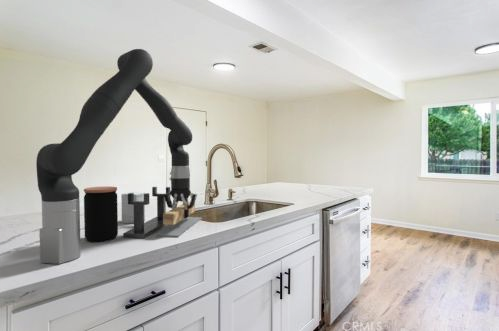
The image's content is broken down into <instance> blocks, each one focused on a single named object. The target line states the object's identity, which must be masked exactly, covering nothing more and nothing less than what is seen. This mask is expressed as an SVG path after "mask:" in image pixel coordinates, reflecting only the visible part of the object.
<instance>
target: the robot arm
mask: <svg viewBox="0 0 499 331" xmlns="http://www.w3.org/2000/svg"><path fill="white" fill-rule="evenodd" d="M116 64H117V69H118V71H117V72H116V73H115V74H114V75H112V77H110V78H109V79H107V81H105V82H103V83H102V85H100V86H99V87H98V88H96V89H95V91H93V92H92V94H91V95H90V96H89V97H88V99H87V100H86V101H85V102H84V104H83V106H82V108H81V111H80V114H79V118H78V122H77V124H76V126H75V127H74V129H73V130H72V131H71V132H70V133H69V135H68V136H67V137H65V139H64V140H62V142H60V143H59V142H58V143H57V142H56V143H49V144H46V145H44V146H42V147H41V148H40V149H39V151H38V153H37V156H36V162H35V163H36V178H37V179H36V180H37V187H38V188H37V189H38V191H39V192H40V195H41V196H40V197H41V226H42V227H41V228H40V229H39V257H40V258H39V259H40V264H55V265H56V264H58V265H61V264H62V263H66V262H70V261H73V260H77V259H78V258H80V257H81V253H82V252H81V250H82V249H81V221H80V220H81V215H80V214H81V212H80V206H81V205H80V190H79V188H78V187H77V186H76V185H75V184H74V182H73V177H72V176H73V175H75V174H76V173H78V172H79V171H81V170H82V168H83V166H84V165H85V163H86V162H87V160H88V158H89V156H90V155H91V153H92V151H93V149H94V147H95V146H96V144H97V143H98V142H99V139H100V138H101V137H102V136H103V135H104V133H105V131H106V130H107V129H108V127H110V125H111V123H112V122H113V121H114V119H115V118H116V117H117V116H118V114H119V113H120V111H121V110H122V108H123V107H124V105H126V103H127V101H128V100H129V98H130V97H131V95H133V92H134V91H136V92H137V94H139V95H140V97H141V98H142V99H143V100H144V101H145V103H146V104H147V105H148V106H149V108H150V109H151V111H152V112H153V114H154V115H155V117H156V118H157V119H158V121H159V123H160V125H161V126H163V127H164V128H166V129H168V130H169V132H168V135H167V144H168V147H169V151H170V155H171V169H170V193H166V192H165V193H163V194H164V197H165V200H166V207H167V208H169V209H171V210H172V209H174V208H176V207H178V204H179V202H181V203H182V204H183V205H184V208H185V210H184V219H187V218H188V217H190V215H189V209H190V208H192V207H193V206H194V203H195V204H196V200H197V197H198V194H197V193H193V192H191V188H190V187H191V181H190V178H191V174H190V173H191V170H190V155H189V153H188V152H187V151H185V150H184V146H188V145H189V144H191V143H192V141H193V133H192V130H191V129H190V128H189V126H187V124H186V123H185V122H184V121H183V120H182V119H181V118H180V117H179V116H178V115H177V112H176V111H175V110H174V108H173V106H172V105H171V103H170V102H169V101H168V100H167V99H166V97H164V96H163V95H162V94H160V92H158V90H156V89H154V87H153V86H151V84H150V83H149V82H148V80H147V79H146V77H147V76H149V74H151V72H152V69H153V66H154V63H153V58H152V56H151V54H150V53H149V52H148V51H147V50H146V49H142V48H135V49H131V50H129V51H127V52H124V53H123V54H120V55H119V57H118V59H117V63H116ZM189 197H190V201H189ZM172 199H173V201H172ZM189 202H190V205H189V204H188V203H189Z"/></svg>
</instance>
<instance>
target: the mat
mask: <svg viewBox="0 0 499 331" xmlns="http://www.w3.org/2000/svg"><path fill="white" fill-rule="evenodd" d="M201 220H202V217H199V216H198V217H197V216H195V217H194V216H189V217H188V218H187V219H182V220H181V221H179V222H178V223H176V224H174V225H167V226H165V227H164V228H163V229H161V230H159V231H158V232H157V233H156V232H155V234H154V237H165V238H179V237H181V236H182V235H183V234H184V233H186V232H187V231H188V230H189V229H191V228H192V227H193V226H194V225H196V224H197V223H198V222H200V221H201ZM190 227H191V228H190ZM186 230H187V231H186Z"/></svg>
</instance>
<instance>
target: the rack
mask: <svg viewBox="0 0 499 331" xmlns="http://www.w3.org/2000/svg"><path fill="white" fill-rule="evenodd" d="M151 189H152V190H151V191H152V192H151V193H152V194H151V195H152V196H151V197H156V201H157V202H156V206H157V207H156V210H157V214H156V215H157V216H155V217H153V218H151V219H149V220H147V221H145V220H144V205H145V206H148V205H150V193H148V192H147V193H146V192H144V193H145V194H144V201H134V193H130V192H127V193H128V204H131V205H134V223H133V228H131V229H129V230H127V231H125V232H123V233H122V238H126V239H127V238H128V239H129V238H130V239H145V238H148V237H149V236H150V235H152V234H154V233H156V232H157V231H158V230H159V231H160V229H162V228H163V227H164V228H165V227H166V225H163V214H164V213H166V212H167V211H166V209H167V203H166V200H165V197H164V194H166V193H170V191H171V186H166V187H165V193H158V187H157V186H152V187H151Z"/></svg>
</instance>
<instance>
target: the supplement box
mask: <svg viewBox="0 0 499 331" xmlns="http://www.w3.org/2000/svg"><path fill="white" fill-rule="evenodd" d="M128 193H134V201H144V194H145V193H146V192H142V191H141V192H140V191H138V192H137V191H131V192H127V193H121V223H123V224H125V223H126V224H134V205H131V204H128ZM144 221H146V205H144Z"/></svg>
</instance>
